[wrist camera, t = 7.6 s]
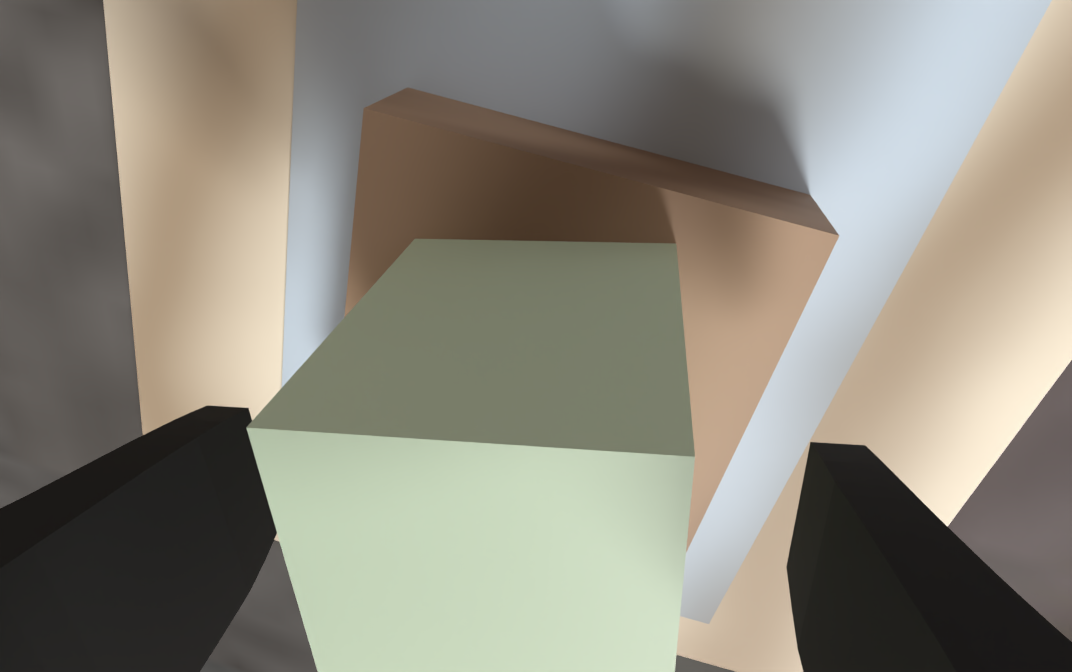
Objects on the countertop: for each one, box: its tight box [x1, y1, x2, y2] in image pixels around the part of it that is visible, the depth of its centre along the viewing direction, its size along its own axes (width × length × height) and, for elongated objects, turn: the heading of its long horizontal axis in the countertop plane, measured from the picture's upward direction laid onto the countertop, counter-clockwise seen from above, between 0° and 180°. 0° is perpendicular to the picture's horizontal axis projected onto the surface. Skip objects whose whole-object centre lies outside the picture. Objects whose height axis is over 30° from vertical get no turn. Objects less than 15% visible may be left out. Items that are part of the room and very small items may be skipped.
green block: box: [246, 239, 695, 672], centre depth 9 cm, size 4×4×5 cm
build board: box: [103, 0, 1072, 672], centre depth 13 cm, size 18×17×3 cm
